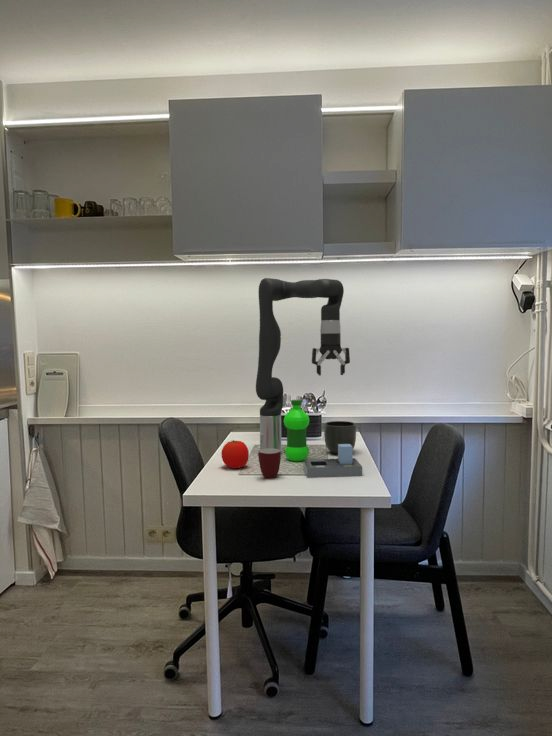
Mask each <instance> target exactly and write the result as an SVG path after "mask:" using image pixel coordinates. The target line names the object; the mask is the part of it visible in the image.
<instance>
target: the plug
mask: <svg viewBox="0 0 552 736" xmlns="http://www.w3.org/2000/svg"><path fill="white" fill-rule="evenodd" d="M352 458H353V450H352V446H351V445H350V444H338V455H337V459H338V462H339V465H351V464H353V461H352Z"/></svg>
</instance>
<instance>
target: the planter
mask: <svg viewBox="0 0 552 736" xmlns="http://www.w3.org/2000/svg"><path fill="white" fill-rule="evenodd" d="M323 434H324V435H323V436H324V444H325V447H326V449H327V450H328V451H329V452H330V453H331V454H332V455H335V456H338V444H350V445H351V446H352V451H354V448H355V445H356V442H357V441H356V439H357V424H356V423H355V422H353V421H346V420H331V421H326V422H324V424H323Z"/></svg>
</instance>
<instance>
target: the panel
mask: <svg viewBox="0 0 552 736" xmlns="http://www.w3.org/2000/svg"><path fill="white" fill-rule="evenodd" d="M352 461H353V464H351V465H339V462H338V458H318V459H317V458H315V459H305V460H303V461H302V462H303V463H302V465H303V471H304V473H305V476H306V479H307V478H308V479H310V478H311V479H315V478H321V479H322V478H348V477H349V478H351V477H363V466H362V465H361V463H360V462H359V461H358V460H357V458H355V457H354V458H353V457H352Z"/></svg>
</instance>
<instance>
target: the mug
mask: <svg viewBox="0 0 552 736" xmlns="http://www.w3.org/2000/svg"><path fill="white" fill-rule="evenodd" d="M281 458H282V454H281V451H280V450H279V449H273V448H268V449H261V450H260V449H259V450H258V463H259V468H260V472H261V475H262V477H263V478H264V479H268V480H269V479H276V478H277V476H278V474H279V471H280V467H281V460H282V459H281Z"/></svg>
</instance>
